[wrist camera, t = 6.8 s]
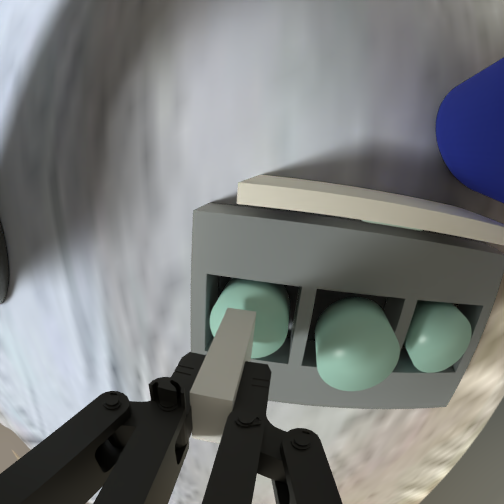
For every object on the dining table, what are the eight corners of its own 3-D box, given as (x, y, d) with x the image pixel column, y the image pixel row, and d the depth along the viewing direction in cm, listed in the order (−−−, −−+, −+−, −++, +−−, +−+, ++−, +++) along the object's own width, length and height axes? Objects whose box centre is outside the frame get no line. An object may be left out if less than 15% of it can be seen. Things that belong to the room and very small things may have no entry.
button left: (220, 327, 21) (208, 351, 18) (223, 266, 19) (211, 285, 16) (284, 336, 20) (282, 363, 17) (294, 275, 19) (293, 296, 16)
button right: (390, 346, 19) (401, 372, 16) (408, 289, 18) (424, 310, 15) (441, 348, 19) (456, 372, 16) (461, 295, 17) (480, 314, 15)
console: (203, 362, 22) (191, 386, 19) (209, 202, 19) (193, 210, 16) (435, 383, 20) (446, 406, 17) (485, 243, 17) (508, 255, 14)
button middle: (308, 356, 18) (309, 388, 15) (322, 292, 17) (326, 318, 14) (375, 362, 17) (385, 392, 15) (395, 300, 16) (410, 326, 13)
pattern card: (258, 192, 18) (235, 211, 11) (260, 174, 18) (238, 182, 11) (455, 223, 17) (517, 255, 10) (458, 207, 16) (522, 232, 10)
